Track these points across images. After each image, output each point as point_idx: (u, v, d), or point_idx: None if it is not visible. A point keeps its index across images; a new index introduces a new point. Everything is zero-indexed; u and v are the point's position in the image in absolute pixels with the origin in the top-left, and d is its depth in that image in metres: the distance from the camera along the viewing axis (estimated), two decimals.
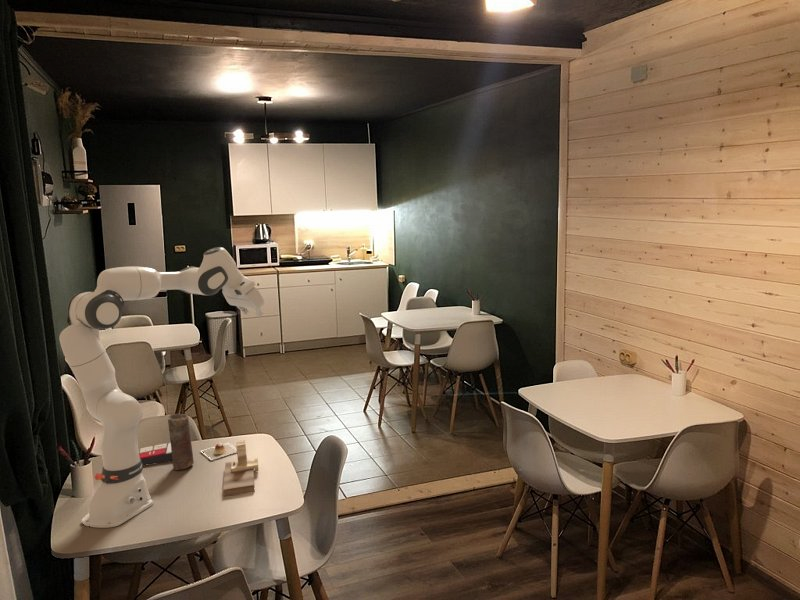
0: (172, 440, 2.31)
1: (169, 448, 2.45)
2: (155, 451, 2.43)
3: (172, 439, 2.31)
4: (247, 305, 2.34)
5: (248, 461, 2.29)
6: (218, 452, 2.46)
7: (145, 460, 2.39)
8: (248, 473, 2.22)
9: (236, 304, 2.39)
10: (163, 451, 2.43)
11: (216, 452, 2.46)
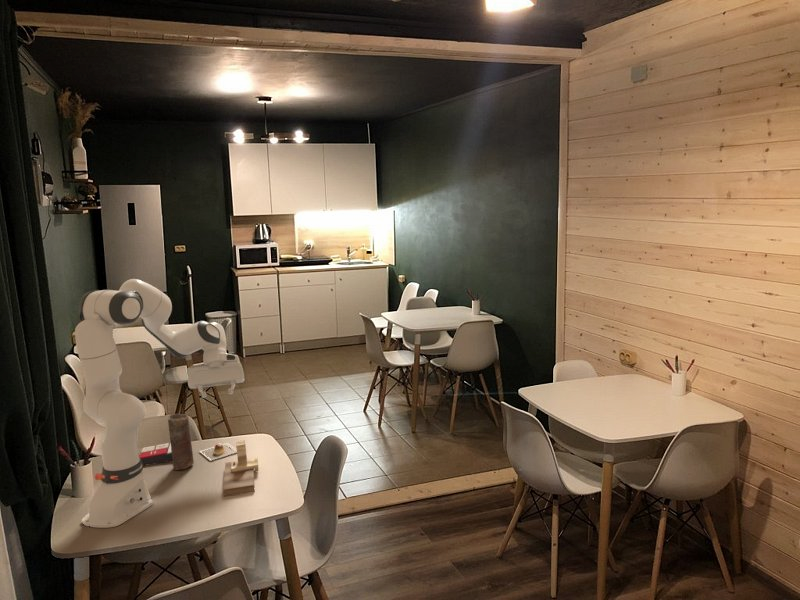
0: (172, 440, 2.31)
1: (170, 448, 2.45)
2: (156, 451, 2.44)
3: (172, 439, 2.31)
4: (226, 377, 2.33)
5: (248, 461, 2.29)
6: (217, 452, 2.45)
7: (146, 460, 2.40)
8: (248, 473, 2.22)
9: (204, 380, 2.32)
10: (164, 451, 2.43)
11: (215, 452, 2.45)
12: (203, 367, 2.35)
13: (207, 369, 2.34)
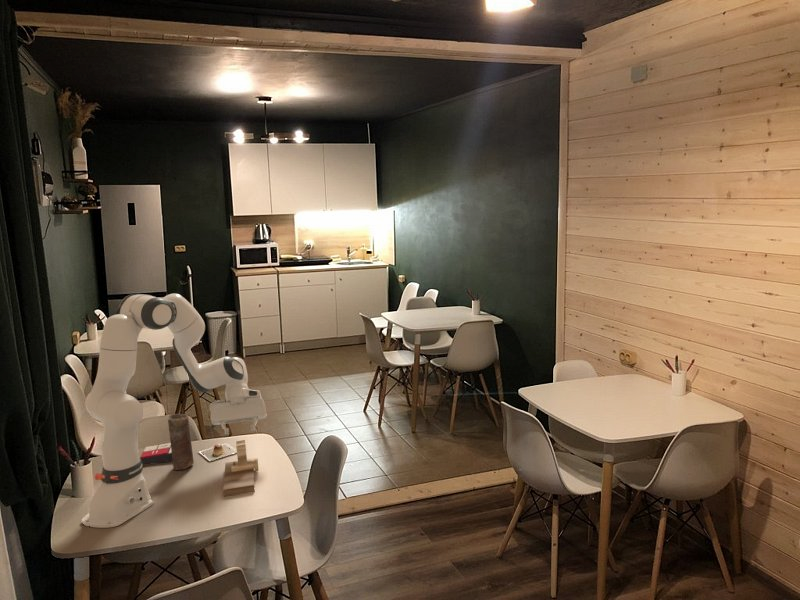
0: (172, 440, 2.31)
1: None
2: (158, 450, 2.44)
3: (172, 439, 2.31)
4: (248, 413, 2.34)
5: (248, 461, 2.29)
6: (216, 453, 2.45)
7: (148, 459, 2.40)
8: (248, 473, 2.22)
9: (227, 416, 2.33)
10: (166, 451, 2.43)
11: (214, 453, 2.45)
12: (225, 403, 2.36)
13: (229, 405, 2.35)
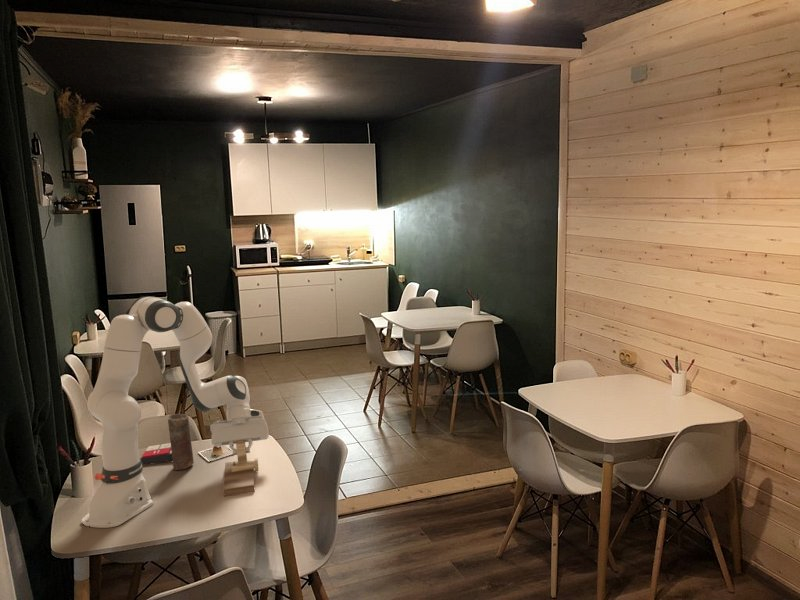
0: (172, 440, 2.31)
1: None
2: (160, 450, 2.44)
3: (172, 439, 2.31)
4: (250, 434, 2.28)
5: (248, 461, 2.29)
6: (216, 453, 2.44)
7: (149, 459, 2.40)
8: (248, 473, 2.22)
9: (228, 438, 2.27)
10: (167, 451, 2.43)
11: (214, 453, 2.45)
12: (227, 424, 2.30)
13: (231, 426, 2.29)
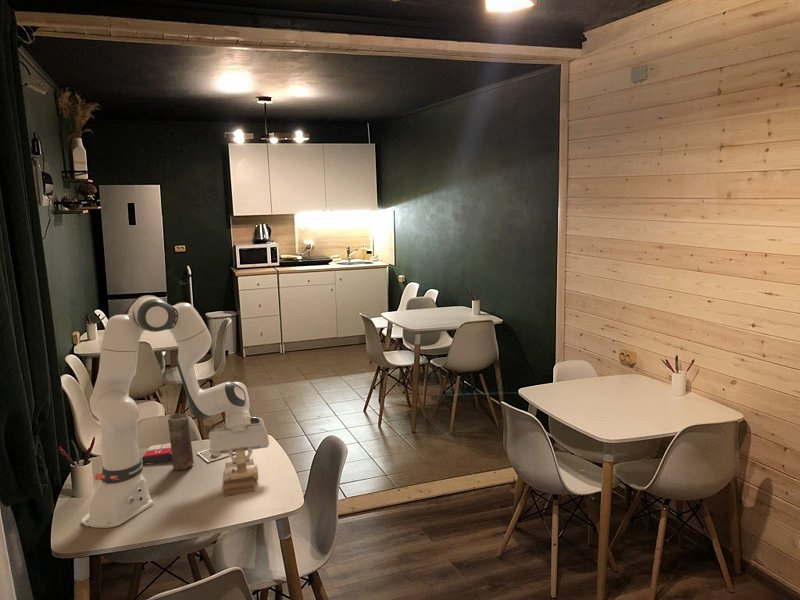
0: (172, 440, 2.31)
1: None
2: (161, 450, 2.44)
3: (172, 439, 2.31)
4: (250, 442, 2.21)
5: (247, 468, 2.22)
6: None
7: (150, 458, 2.40)
8: None
9: (228, 446, 2.20)
10: (168, 451, 2.43)
11: None
12: (226, 431, 2.23)
13: (230, 434, 2.22)
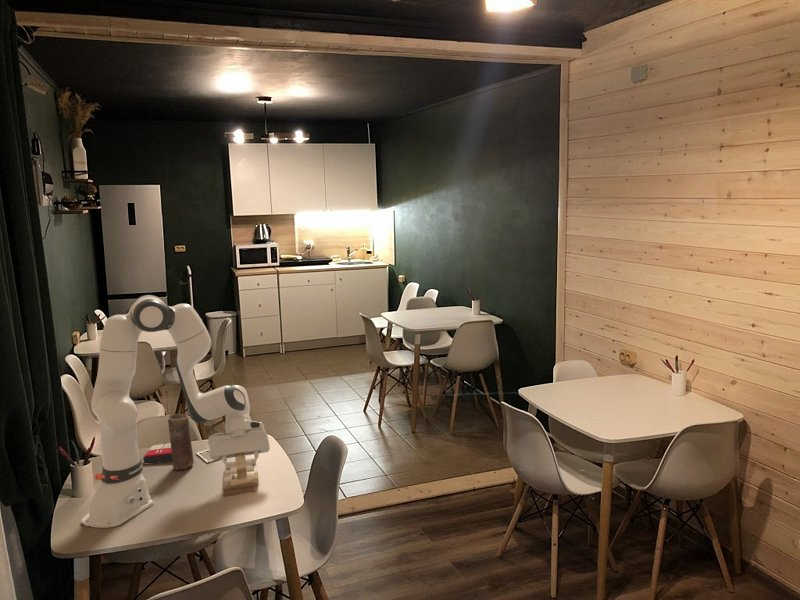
0: (172, 440, 2.31)
1: None
2: (163, 450, 2.44)
3: (172, 439, 2.31)
4: (250, 447, 2.17)
5: (248, 474, 2.18)
6: None
7: (151, 458, 2.41)
8: None
9: (227, 451, 2.15)
10: (169, 451, 2.43)
11: None
12: (225, 436, 2.18)
13: (230, 438, 2.18)
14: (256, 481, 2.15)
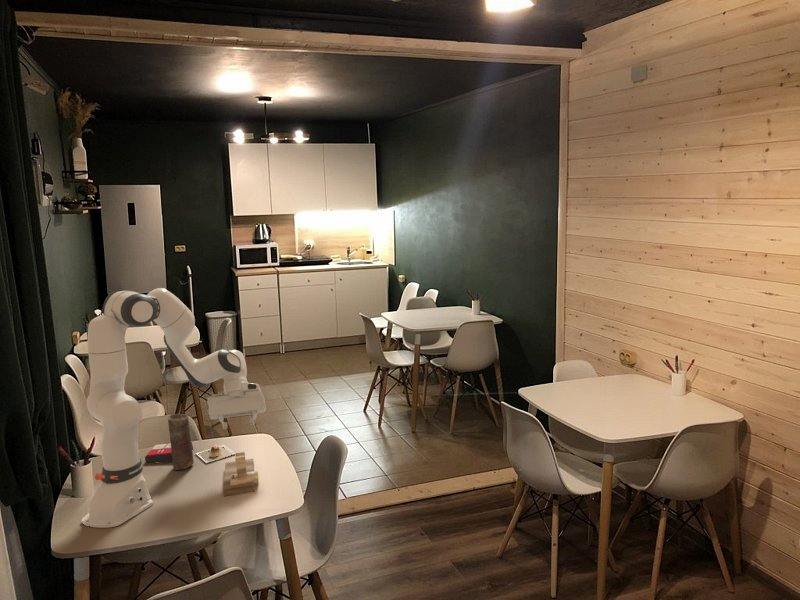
0: (172, 440, 2.31)
1: None
2: (164, 450, 2.44)
3: (172, 439, 2.31)
4: (247, 407, 2.28)
5: (248, 474, 2.18)
6: (213, 455, 2.43)
7: (152, 458, 2.41)
8: None
9: (225, 410, 2.26)
10: None
11: (211, 455, 2.44)
12: (224, 397, 2.29)
13: (228, 399, 2.29)
14: (256, 481, 2.15)
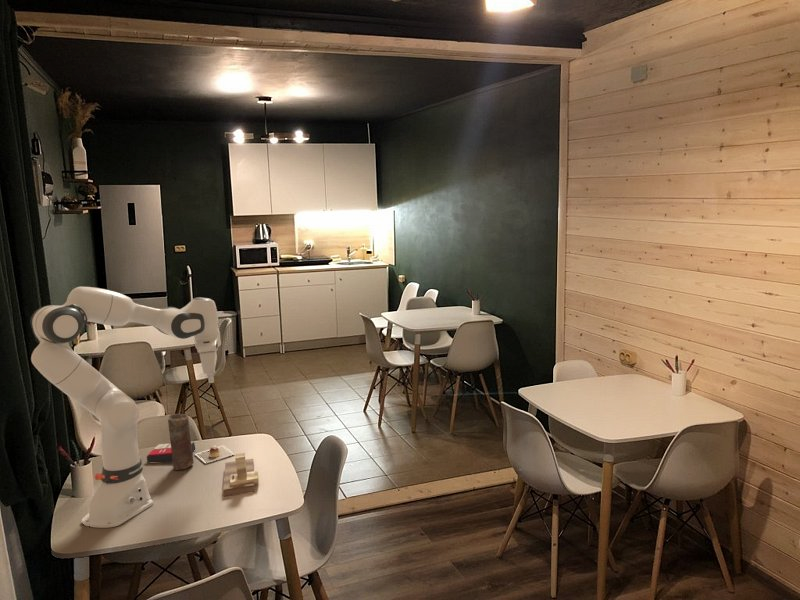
0: (172, 440, 2.31)
1: None
2: (166, 449, 2.44)
3: (172, 439, 2.31)
4: None
5: (248, 474, 2.18)
6: (213, 455, 2.43)
7: (154, 457, 2.41)
8: None
9: None
10: None
11: (211, 455, 2.43)
12: None
13: None
14: (256, 481, 2.15)
